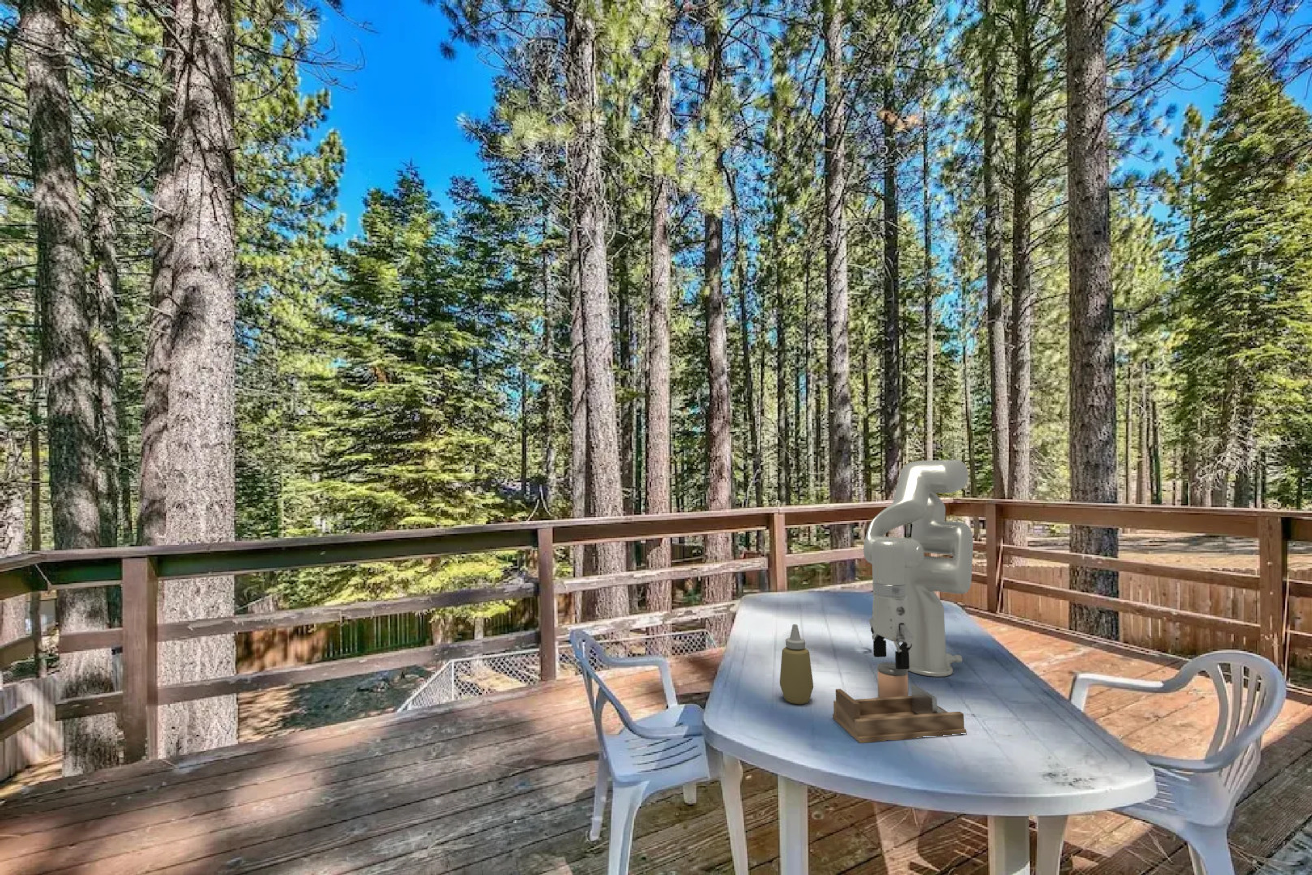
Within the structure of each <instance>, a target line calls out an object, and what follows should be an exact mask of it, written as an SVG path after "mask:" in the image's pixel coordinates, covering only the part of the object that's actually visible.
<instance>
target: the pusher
mask: <svg viewBox="0 0 1312 875" xmlns="http://www.w3.org/2000/svg"><path fill="white" fill-rule="evenodd" d="M910 692H911V695H910V696H912V711H913V712H915V713H916V714H918V715H919V714H933V713H946V712H945V711H946V710H945V711H943V710H941V709H940V708H941V707H940V708H938V707H937V706H938V700H937V697H936V696H935V695H933V694H932V695H931V693H929V692H928V691H926V690H924V689H923V688H921V687H919V686H918V685H917V684H911V685H910ZM934 696H935V697H934Z"/></svg>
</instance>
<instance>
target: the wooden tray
mask: <svg viewBox="0 0 1312 875" xmlns="http://www.w3.org/2000/svg"><path fill="white" fill-rule="evenodd" d="M930 694H931V693H930ZM931 695H933V694H931ZM933 696H934V697H936V696H935V695H933ZM937 707H938V708H940V709H941V710H943V711H945V712H946V713H933V714H919V715H918V714H916V713H915V712H913V711H912V696H911V695H909V696H900V697H885V698H878V697H874V698H873V697H872V698H857V699H854V698H853V697H851V695H849V694H848V693H847V692H845V691H844V690H843V689H842V688H836V689H835V700H833V713H832V719H833V720H834V721H835V722H836V723H838V725H840V726H841V727H842V728H843V729H844V730H845V731H846V732H847V733H848V734H849V735H850V736H852V737H853V738H854V739H855V740H856V741H857V742H858V743H859V744H865V743H876V741H877V742H878V741H880V742H887V741H886V740H893V741H902V740H904V739H905V740H913V739H912V738H917V737H923V736H943V735H952V734H961V733H966V734H967V729H966V728H965V715H964V713H963V712H961V711H951V712H948V711H947V710H945V709H944V708H942V707H940V706H939V705H937ZM878 743H879V742H878Z"/></svg>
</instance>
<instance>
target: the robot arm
mask: <svg viewBox="0 0 1312 875" xmlns="http://www.w3.org/2000/svg"><path fill="white" fill-rule="evenodd" d="M968 480H969V473H968V467H967V465H966V464H965V463H964V462H963V461H962V460H958V459H951V460H950V459H948V460H947V459H945V460H943V459H940V460H939V459H938V460H917V461H911V462H909V463H906V465H905V466H904V467H902V469H901V470H900V473H899V477H898V481H897V485H896V489H895V493H894V496H893V501H892V504H889V505H888V506H887V507H886V508H884V509H883V510H881V511H880V512H879V513H878V514H877V515H876V516H875V517H874V518H873V519H872V520H871V521H870V523H869V525H868V528H867V530H866V533H865V534H866V535H865V538H864V541H863V542H864V543H863V547H862V548H863V549H862V550H863V555H864V556H863V557H864V559H865V560H866V561H867V563H869V564H871V565H872V566H871V567H872V570H871V571H872V572H871V573H872V596H873V599H872V612H871V613H872V614H871V616H872V617H871V618H870V619H869V620H868V621H869V626H870V632H871V634H872V635H871V639H872V641H873V642H872V646H873V654H872V655H873V657H874V658H886V657H887V640H888V641H891V642H893V644H894V647H895V649H896V650H895V652H894V653H895V654H894V656H895V662H894V663H895V664H896V669H908V671H909V672H911V673H914V674H918V675H922V676H927V677H928V676H929V677H947V676H950V675H952V674H953V673H954V670H953V667H952V666H951V665H952V664H953V663H962V662H963V658H962V655H961V654H955V655H954V654H953V655H952V654H951V653H947V648H946V647H947V646H946V630H945V629H946V628H945V627H946V626H945V625H946V624H945V623H946V622H945V621H946V620H945V609H944V605H943V603H942V601H941V599H940V598H939V596H938V595H937V594H936V593H937V592H938V593H939V592H940V593H946V594H947V593H949V594H957V595H963V594H966V593H968V592H969V590H970V589H971V584H972V577H973V576H972V573H973V557H974V555H973V554H974V553H973V552H974V551H973V550H974V539H973V532H972V530H971V528H970V526H969V525H968V524H967V523H965V522H962V521H961V522H960V521H950V520H949V521H948V520H947V521H946V505H945V503H944V502H943V500H942V499H941V498H940V497H939V496H938V495H937V494H940V493H941V494H949V493H950V494H951V493H956V492H957V491H960V490H962V489H963V488H965V487H966V485H967V483H968ZM908 524H911V525H912V527H911V534H910V535H911V537H910V538H908V537H896V536H895V537H894V536H885V535H886V534H887V533H888V532H890V531H891V530H894V529H896V528H899V527H901V526H906V525H908ZM925 553H927V554H934V555H935V554H937V555H949V556H952V557H945V556H943V557H942V556H940V557H939V556H934V555H933V556H932V555H925ZM935 592H936V593H935ZM900 643H901V644H900Z"/></svg>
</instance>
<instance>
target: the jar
mask: <svg viewBox="0 0 1312 875" xmlns="http://www.w3.org/2000/svg"><path fill="white" fill-rule="evenodd" d="M876 668H877V694H878V695H877V698H885V697H900V696H910V695H909V676H908V675H909V673H908V671H909V670H908V669H896V664H895V662H880V663H878V664H877V665H876Z"/></svg>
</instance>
